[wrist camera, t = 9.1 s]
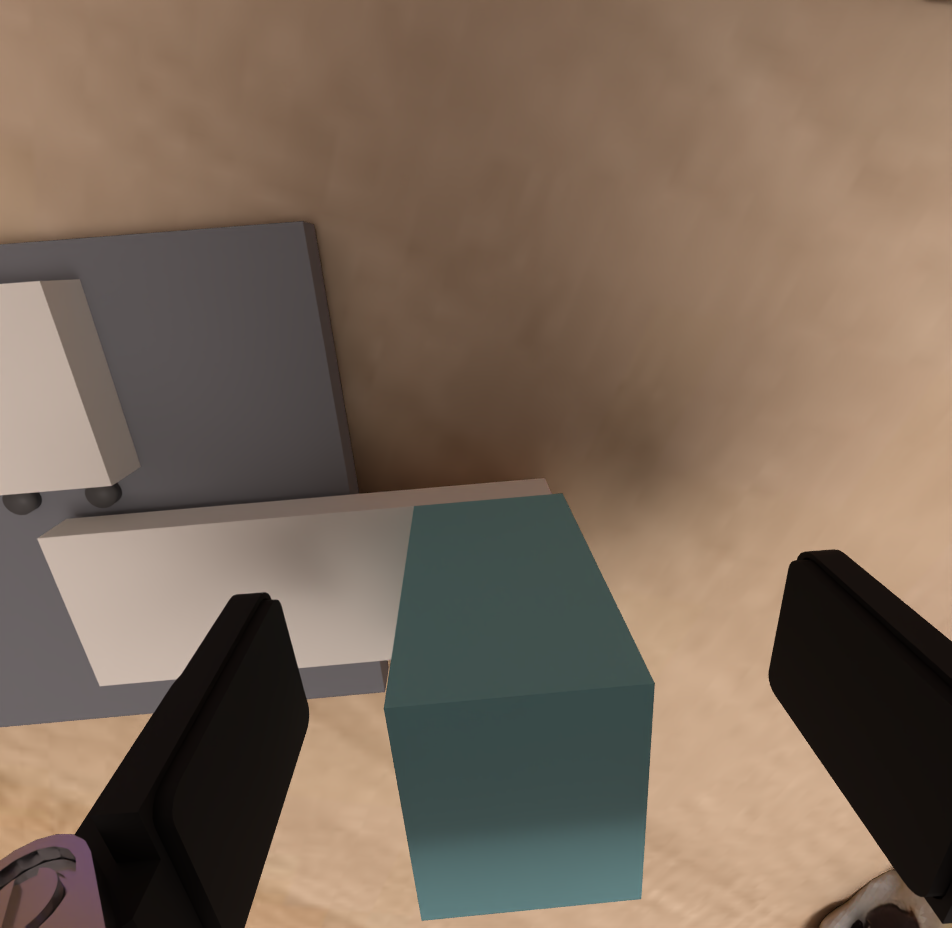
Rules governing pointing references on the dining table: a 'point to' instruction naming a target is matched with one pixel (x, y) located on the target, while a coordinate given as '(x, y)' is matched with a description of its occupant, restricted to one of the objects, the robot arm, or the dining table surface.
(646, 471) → the dining table surface
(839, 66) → the dining table surface
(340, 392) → the mat
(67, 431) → the ticket
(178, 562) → the stub
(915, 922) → the pastry
